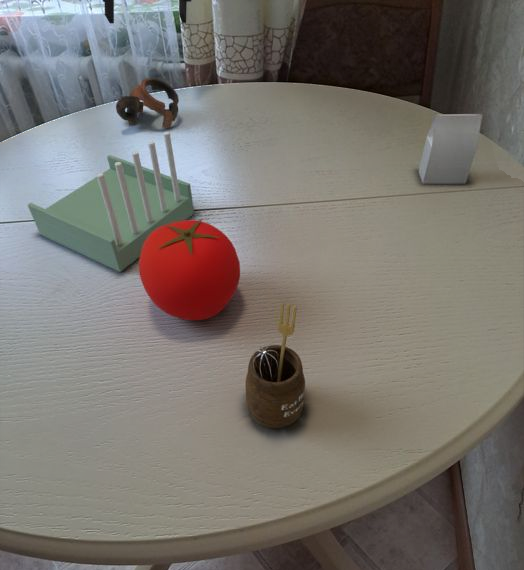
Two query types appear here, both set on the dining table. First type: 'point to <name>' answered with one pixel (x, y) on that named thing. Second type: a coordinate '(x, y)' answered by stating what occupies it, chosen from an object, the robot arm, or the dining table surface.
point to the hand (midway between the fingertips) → (145, 19)
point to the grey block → (450, 148)
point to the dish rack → (117, 210)
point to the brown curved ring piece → (148, 102)
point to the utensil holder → (276, 380)
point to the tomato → (189, 269)
